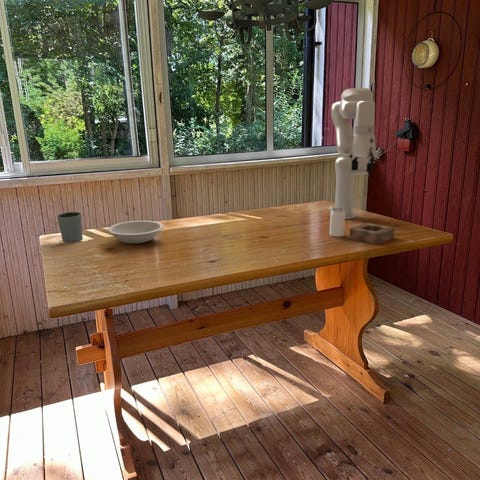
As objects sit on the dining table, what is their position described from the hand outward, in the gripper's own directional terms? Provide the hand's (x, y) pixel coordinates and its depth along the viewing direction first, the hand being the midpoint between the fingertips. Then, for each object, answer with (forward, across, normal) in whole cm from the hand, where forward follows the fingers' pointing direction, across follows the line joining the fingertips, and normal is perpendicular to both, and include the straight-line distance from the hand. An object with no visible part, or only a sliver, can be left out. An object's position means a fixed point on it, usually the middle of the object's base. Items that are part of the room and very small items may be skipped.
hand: (361, 171), depth 197 cm
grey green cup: (+29, +56, +116) cm, 133 cm away
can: (+29, +4, +9) cm, 31 cm away
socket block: (+29, -7, -2) cm, 30 cm away
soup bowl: (+29, +40, +91) cm, 104 cm away
